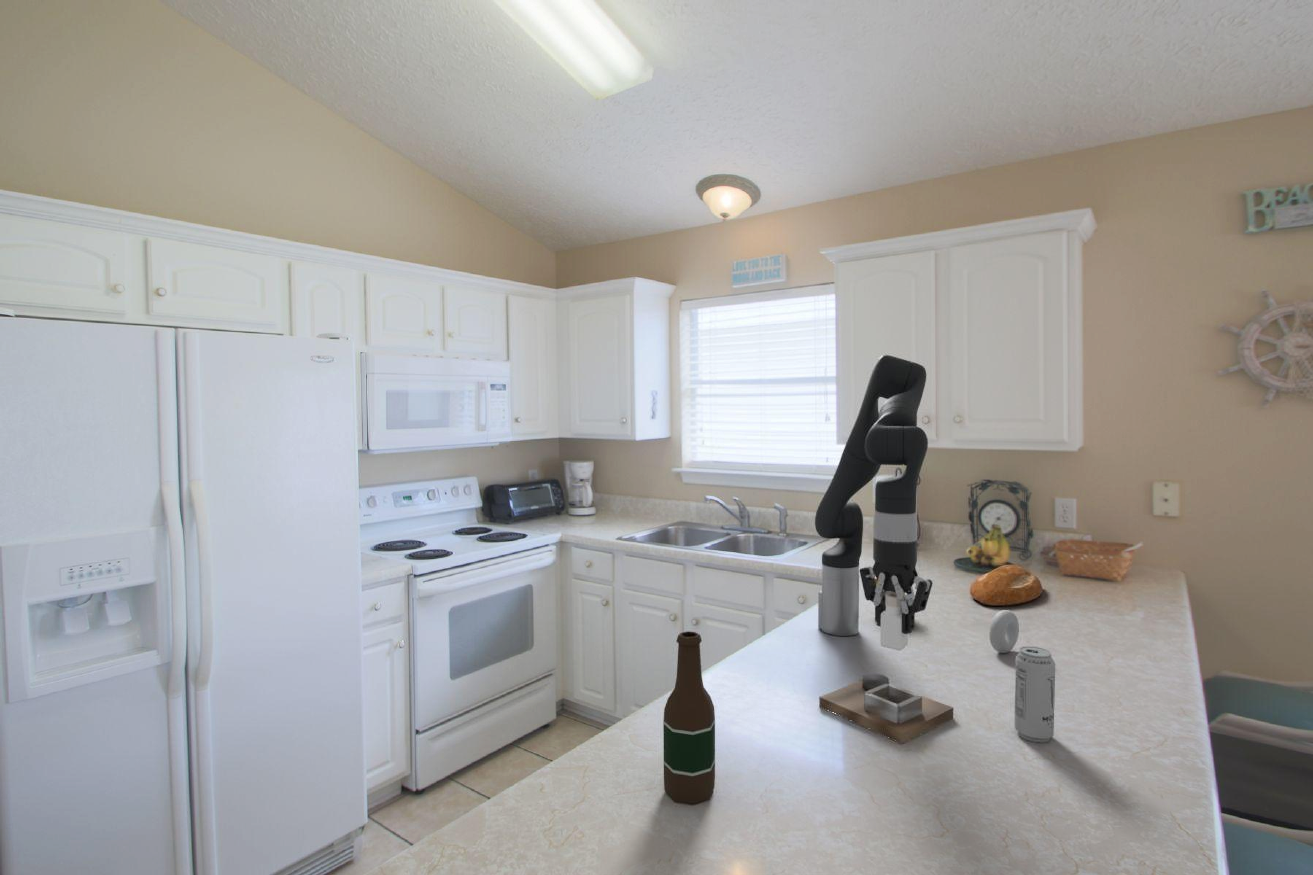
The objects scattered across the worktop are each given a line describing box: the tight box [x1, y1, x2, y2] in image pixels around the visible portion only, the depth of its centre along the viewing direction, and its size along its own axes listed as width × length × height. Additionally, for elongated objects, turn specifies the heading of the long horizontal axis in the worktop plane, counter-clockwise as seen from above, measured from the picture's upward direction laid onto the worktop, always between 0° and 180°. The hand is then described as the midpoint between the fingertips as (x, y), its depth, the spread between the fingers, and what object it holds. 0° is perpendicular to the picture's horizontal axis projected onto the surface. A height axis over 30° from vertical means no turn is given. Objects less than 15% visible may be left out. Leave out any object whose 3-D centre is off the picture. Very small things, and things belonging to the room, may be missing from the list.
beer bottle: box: [662, 631, 716, 806], centre depth 102 cm, size 8×8×24 cm
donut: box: [989, 609, 1020, 654], centre depth 159 cm, size 10×4×10 cm, turn 128°
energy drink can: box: [1013, 646, 1056, 743], centre depth 119 cm, size 6×6×15 cm
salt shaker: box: [879, 593, 909, 651], centre depth 124 cm, size 4×4×10 cm
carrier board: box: [818, 672, 954, 745], centre depth 128 cm, size 18×16×5 cm
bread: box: [969, 564, 1043, 607], centre depth 207 cm, size 18×35×9 cm, turn 135°
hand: (894, 628), depth 124 cm, fingers closed on salt shaker, 4 cm apart
